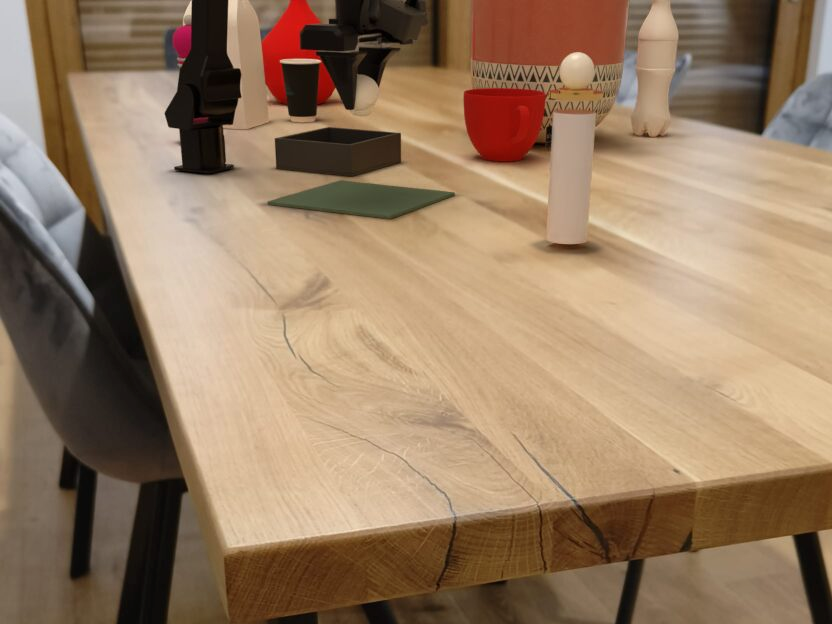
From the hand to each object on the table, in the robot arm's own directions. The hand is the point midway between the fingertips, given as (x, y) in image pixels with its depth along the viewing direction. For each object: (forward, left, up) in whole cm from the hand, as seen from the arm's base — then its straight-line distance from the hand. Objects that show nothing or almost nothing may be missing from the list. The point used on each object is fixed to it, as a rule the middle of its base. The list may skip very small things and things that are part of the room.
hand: (360, 107), depth 143 cm
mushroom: (0, 0, -1) cm, 1 cm away
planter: (+61, -1, -11) cm, 62 cm away
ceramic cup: (+38, -4, -11) cm, 40 cm away
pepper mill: (+28, +49, -11) cm, 57 cm away
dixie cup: (+62, +50, -11) cm, 80 cm away
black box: (+20, +16, -11) cm, 28 cm away
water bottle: (+79, -15, -11) cm, 81 cm away
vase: (+88, +67, -11) cm, 111 cm away
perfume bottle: (-14, -34, -11) cm, 39 cm away
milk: (+50, +59, -11) cm, 78 cm away
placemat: (-2, -1, -11) cm, 11 cm away
